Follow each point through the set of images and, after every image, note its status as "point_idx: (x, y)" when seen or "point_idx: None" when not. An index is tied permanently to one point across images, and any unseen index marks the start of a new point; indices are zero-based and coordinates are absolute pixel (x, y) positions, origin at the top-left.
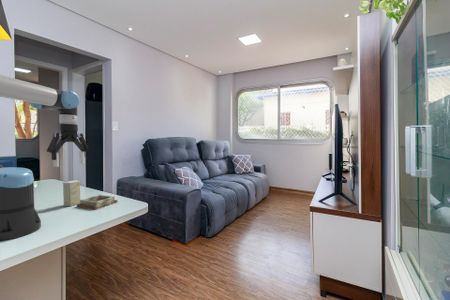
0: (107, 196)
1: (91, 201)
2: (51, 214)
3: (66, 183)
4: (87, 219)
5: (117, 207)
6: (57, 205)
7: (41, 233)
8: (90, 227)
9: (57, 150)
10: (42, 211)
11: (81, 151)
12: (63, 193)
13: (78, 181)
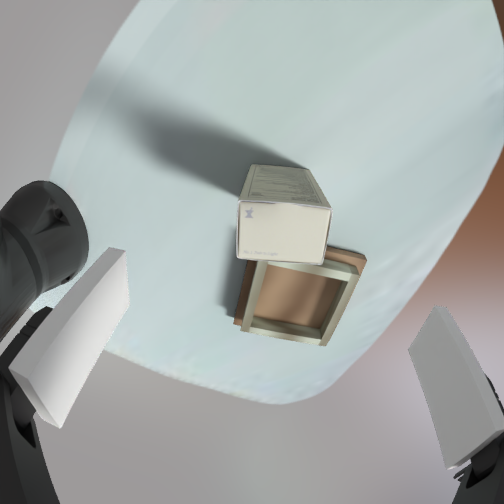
0: (330, 322)
1: (249, 309)
2: (152, 208)
3: (237, 228)
4: (160, 337)
5: (271, 358)
6: (253, 127)
7: None
8: (131, 361)
9: (33, 455)
10: (167, 140)
11: (495, 439)
12: (245, 180)
13: (308, 262)
